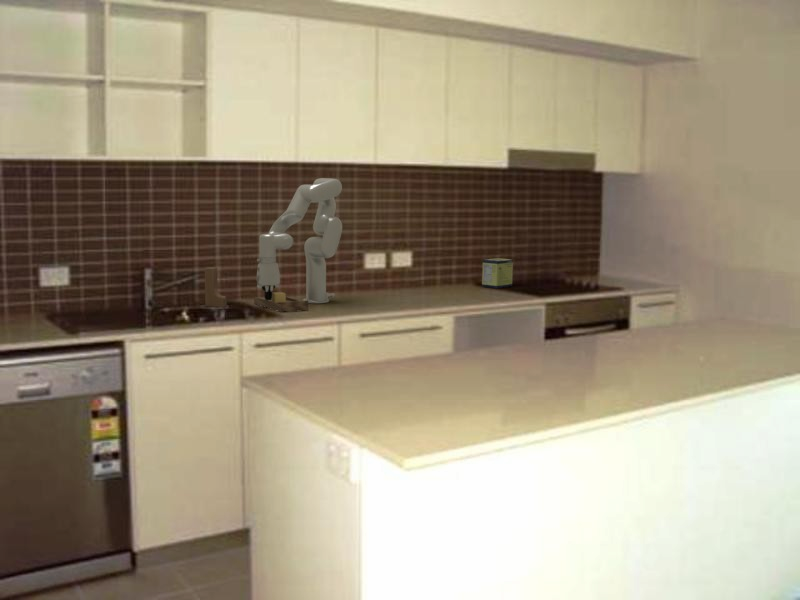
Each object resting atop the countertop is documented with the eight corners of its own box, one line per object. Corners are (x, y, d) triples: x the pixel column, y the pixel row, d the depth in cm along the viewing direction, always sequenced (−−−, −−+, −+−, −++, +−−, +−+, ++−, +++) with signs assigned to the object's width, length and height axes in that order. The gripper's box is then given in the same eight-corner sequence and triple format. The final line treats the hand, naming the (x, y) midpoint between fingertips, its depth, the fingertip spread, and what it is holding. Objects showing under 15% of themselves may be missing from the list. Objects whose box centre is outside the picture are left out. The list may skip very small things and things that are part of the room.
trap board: (280, 301, 427) (280, 292, 426) (308, 310, 402) (308, 300, 402) (254, 303, 420) (254, 294, 419) (280, 312, 395) (280, 302, 394)
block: (281, 300, 415) (281, 292, 414) (285, 301, 411) (285, 293, 410) (271, 301, 412) (271, 292, 412) (275, 302, 408) (275, 294, 408)
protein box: (512, 286, 501) (513, 259, 499) (496, 288, 490) (497, 260, 487) (497, 284, 508) (498, 257, 506) (481, 286, 497) (482, 259, 494)
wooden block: (226, 306, 411) (226, 267, 408) (223, 307, 407) (223, 268, 404) (208, 305, 412) (208, 267, 410) (205, 306, 408) (204, 268, 406)
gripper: (256, 262, 400) (256, 302, 403) (286, 260, 408) (286, 299, 411) (249, 260, 406) (250, 300, 409) (279, 259, 414) (279, 297, 417)
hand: (268, 299), depth 410 cm, fingers closed
